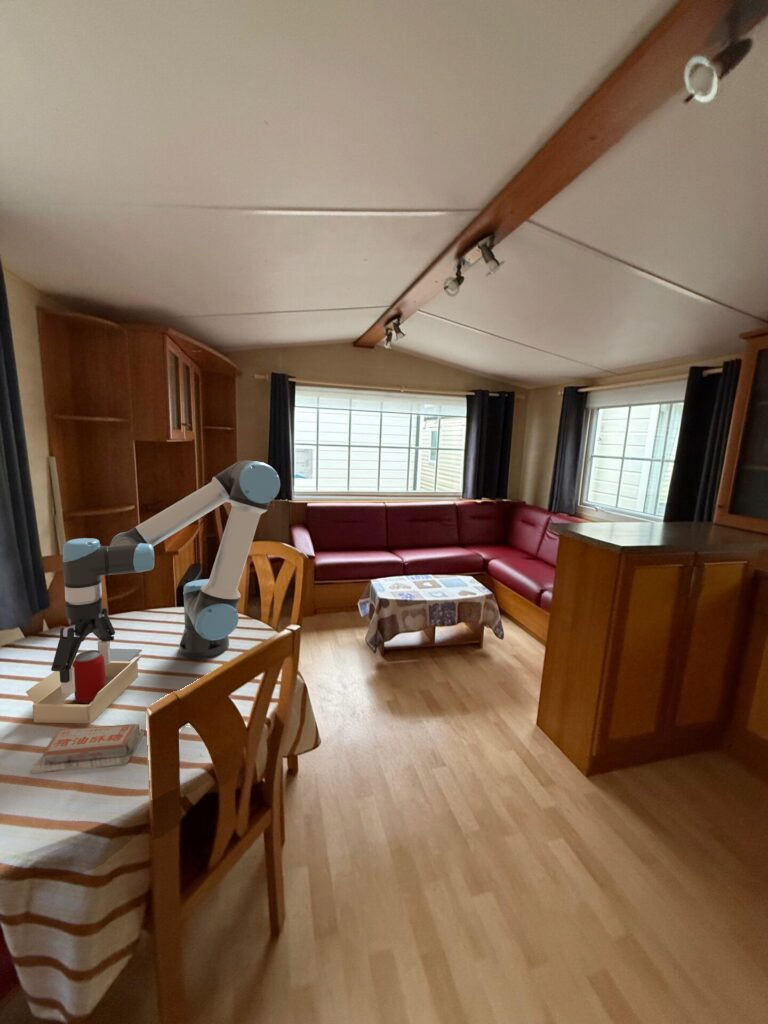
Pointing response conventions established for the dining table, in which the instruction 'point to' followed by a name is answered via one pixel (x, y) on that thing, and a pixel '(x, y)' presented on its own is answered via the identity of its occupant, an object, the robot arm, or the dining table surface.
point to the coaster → (123, 654)
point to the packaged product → (89, 748)
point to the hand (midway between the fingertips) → (87, 677)
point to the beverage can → (89, 675)
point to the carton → (51, 711)
